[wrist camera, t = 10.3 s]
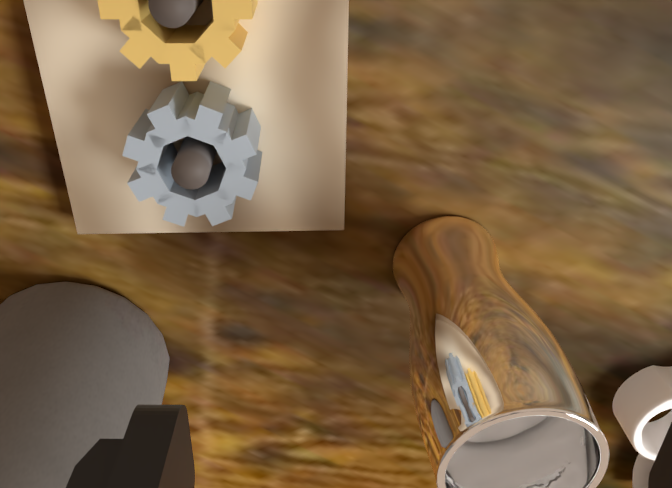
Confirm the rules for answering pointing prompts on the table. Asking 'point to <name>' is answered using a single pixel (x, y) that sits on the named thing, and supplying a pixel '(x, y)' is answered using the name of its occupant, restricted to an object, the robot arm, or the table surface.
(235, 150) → the gear
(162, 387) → the canister
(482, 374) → the beer glass
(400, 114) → the table surface
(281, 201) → the gear board
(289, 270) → the table surface
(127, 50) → the gear
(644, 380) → the white brass knuckles
